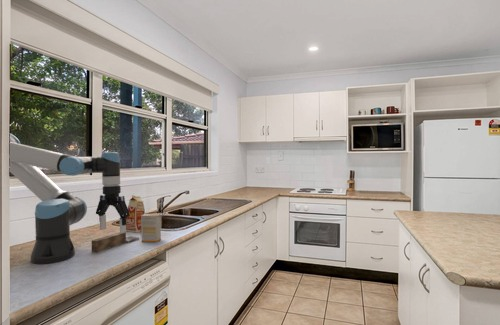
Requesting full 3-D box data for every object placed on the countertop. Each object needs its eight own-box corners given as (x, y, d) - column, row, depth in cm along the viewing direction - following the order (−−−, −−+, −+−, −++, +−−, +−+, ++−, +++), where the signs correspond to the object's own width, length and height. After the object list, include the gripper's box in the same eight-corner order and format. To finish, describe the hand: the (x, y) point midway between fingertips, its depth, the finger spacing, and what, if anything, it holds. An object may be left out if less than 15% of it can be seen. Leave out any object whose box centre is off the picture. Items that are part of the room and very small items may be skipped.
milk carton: (137, 232, 160) (136, 196, 160) (123, 231, 163) (123, 195, 163) (147, 228, 169) (147, 194, 168) (134, 227, 172) (134, 193, 171)
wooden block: (98, 253, 126) (98, 241, 126) (89, 251, 128) (89, 240, 128) (139, 239, 147) (139, 229, 147) (130, 238, 149) (130, 228, 149)
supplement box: (161, 239, 146) (161, 213, 146) (157, 242, 141) (157, 215, 141) (145, 239, 147) (145, 213, 147) (141, 241, 142) (140, 215, 142)
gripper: (137, 185, 133) (138, 231, 133) (101, 183, 144) (102, 226, 145) (123, 187, 126) (124, 235, 127) (86, 185, 138) (88, 229, 138)
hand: (112, 230), depth 136 cm, fingers open, 13 cm apart
